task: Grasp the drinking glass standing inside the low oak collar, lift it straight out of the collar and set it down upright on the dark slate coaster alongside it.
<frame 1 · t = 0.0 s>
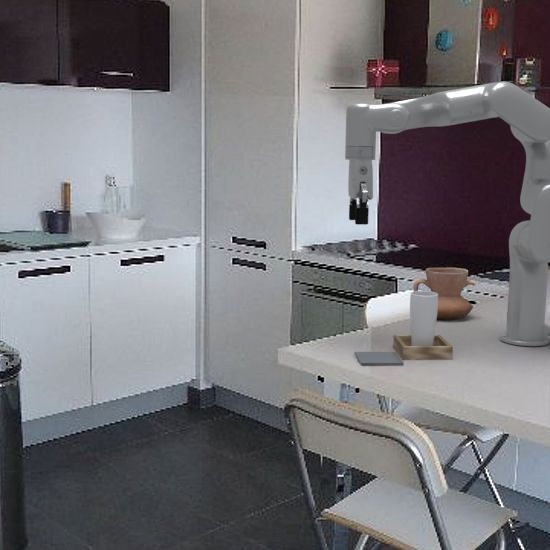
hand: (358, 222, 214), 31 cm above the table, fingers open, 9 cm apart
oak collar: (421, 352, 210), on the table
ceramic jug: (443, 317, 250), on the table
drinking glass: (421, 353, 210), resting in oak collar
slate coaster: (378, 359, 203), on the table
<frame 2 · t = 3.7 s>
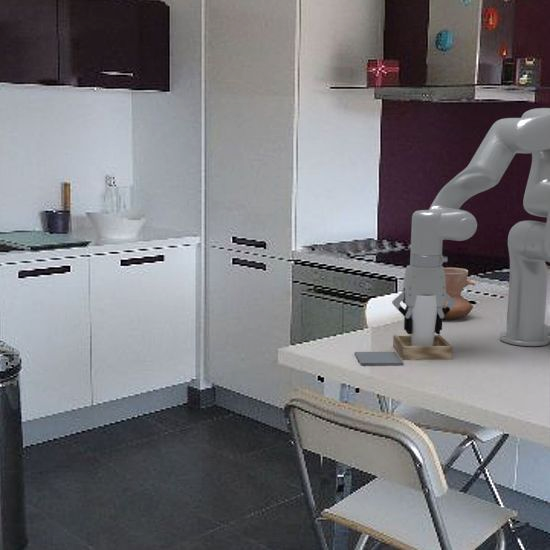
hand: (422, 332, 209), 5 cm above the table, fingers closed on drinking glass, 6 cm apart
drinking glass: (421, 353, 210), resting in oak collar, touching gripper
everything else where it was.
when the fingers open (7 cm above the table, at t = 9.7 s): drinking glass drops 1 cm, resting on slate coaster.
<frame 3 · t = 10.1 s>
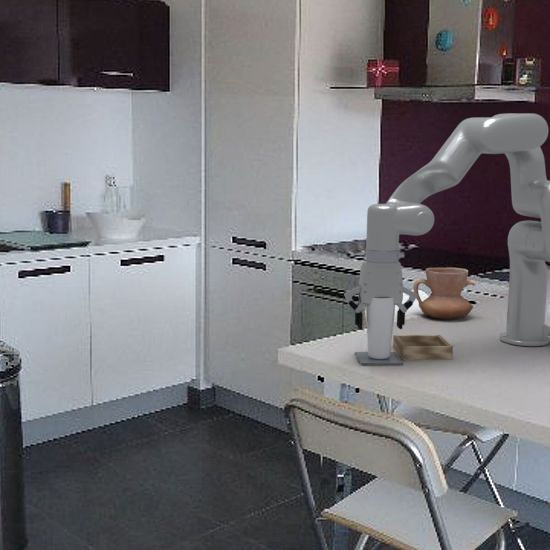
hand: (379, 327, 201), 8 cm above the table, fingers open, 9 cm apart
drinking glass: (378, 357, 203), resting on slate coaster
everything else where it was.
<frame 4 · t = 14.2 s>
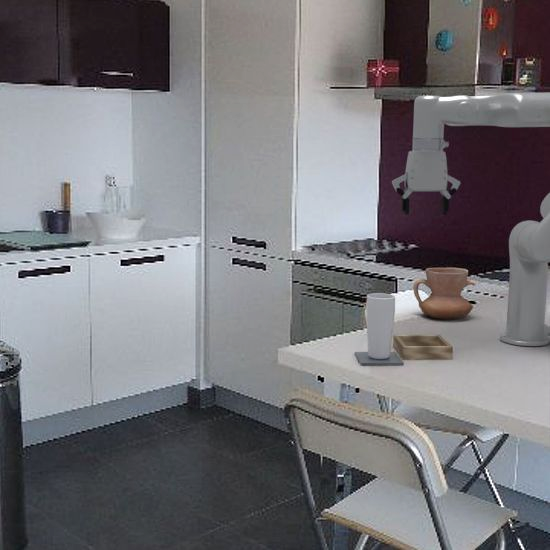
hand: (424, 214, 215), 33 cm above the table, fingers open, 9 cm apart
nothing on the table moved.
at the end: drinking glass inside the target area on the slate coaster (0.1 cm from its centre), point 0.4 cm above the slate coaster's base; drinking glass tilted 0°; the gripper is holding nothing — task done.
